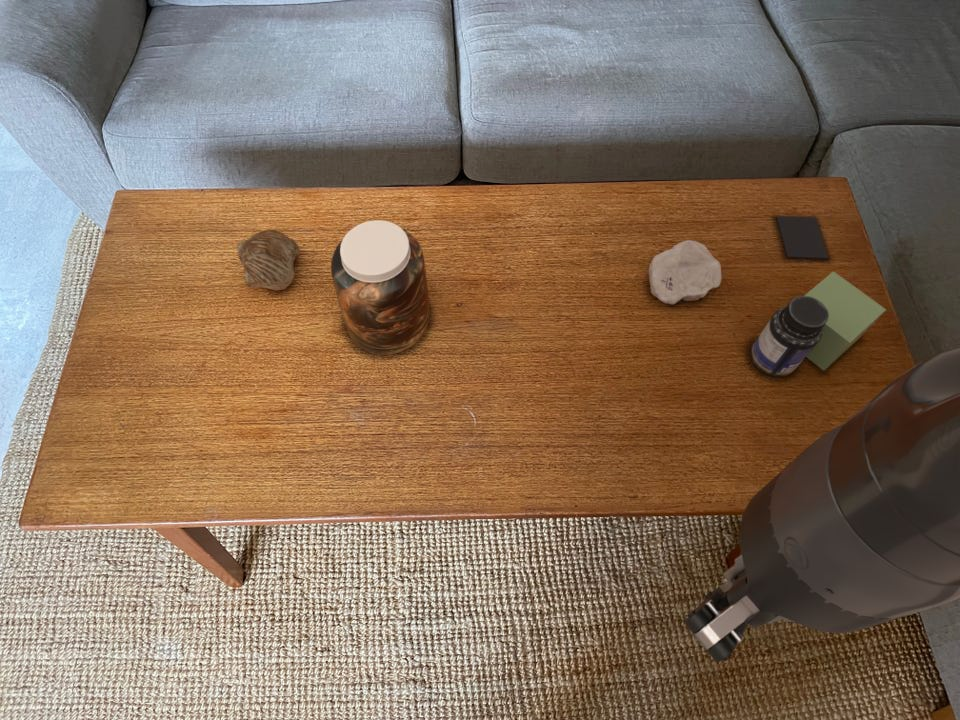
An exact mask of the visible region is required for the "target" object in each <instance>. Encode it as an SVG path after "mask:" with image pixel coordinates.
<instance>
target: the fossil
mask: <svg viewBox="0 0 960 720" xmlns="http://www.w3.org/2000/svg"><path fill="white" fill-rule="evenodd" d="M648 278H649V286H650V293H651V294H652V296H654V297H656V298H657V299H658V300H659V301H660V302H662V303H664V304H666V305H667V304H668V305H675V304H677V303H678V302H680V301H682V300H683V301H687V302H693V301H694V302H695V301H699V299H701V298H705V296H706V295H707V294H708V293H709V291H710V290H712V289H716V288H718V287H720V285H721V283H722V279H723V278H722V265H721V262H720V261H719V260H718V259H716V258H715V257H714V255H712V253H711V252H710V251H709V249H708V248H707V246H706V244H702V243H701V242H699V241H696V240H692V239H687V240H683V241H681V242H678V243H676V244H675V245H673V246H672V248H669V249H666V250H664V251H662V252H660V253H658V254H655V255H654V256H653V258H652V260H651V262H650V265H649V267H648Z"/></svg>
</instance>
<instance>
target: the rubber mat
mask: <svg viewBox="0 0 960 720" xmlns="http://www.w3.org/2000/svg"><path fill="white" fill-rule="evenodd" d="M775 219H776V222H777V226H778V231H779V234H780V237H781V242H782V245H783V248H784V252H785V256H786V259H800V260H801V259H803V260H828V259H829V258H830V257H829V254H828V251H827V247H826V244H825V242H824V239H823V235H822V231H821V230H820V226H819V222H818V219H817V217H812V216H811V217H810V216H809V217H807V216H784V215H783V216H782V215H781V216H780V215H777V216H776V217H775Z"/></svg>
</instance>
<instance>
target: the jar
mask: <svg viewBox="0 0 960 720" xmlns="http://www.w3.org/2000/svg"><path fill="white" fill-rule="evenodd" d="M425 262H426V261H425V257H424V253H423V249H422V247H421V244H420V243H419V241H418V240H417V239H416V237H414V235H412V234H411V233H410V232H409V231H407V230H406V229H404V228H402V227H401V226H400V225H398V224H395V222H391V221H388V220H382V219H374V220H368V221H365V222H362V223H359V224H357V225H355V226H354V227H352V228H351V229H350V230H349V231H347V233H346V234H345V235H344V237H343V238H342V240H341V241H340V242H339V243H338V244H337V246H336V248H335V250H334V252H333V253H332V256H331V262H330V272H331V278H332V282H333V286H334V287H333V288H334V291H335V294H336V295H335V296H336V298H337V302H338V305H339V309H340V312H341V315H342V318H343V323H344V325H345V328H346V332H347V334H348V336H349V338H350V339H351V341H352V342H353V343H354V345H355V346H357V348H359V349H360V350H362V351H364V352H366V353H369V354H371V355H377V356H392V355H396V354H400V353H403V352H405V351H407V350H409V349H410V348H412V347H414V346H415V345H416V344H417V343H418V342H419V341H421V339H422V338H423V337H424V335H425V334H426V332H427V330H428V327H429V323H430V318H431V317H430V314H431V313H430V301H429V300H430V299H429V289H428V288H429V287H428V279H427V270H426V263H425Z"/></svg>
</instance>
